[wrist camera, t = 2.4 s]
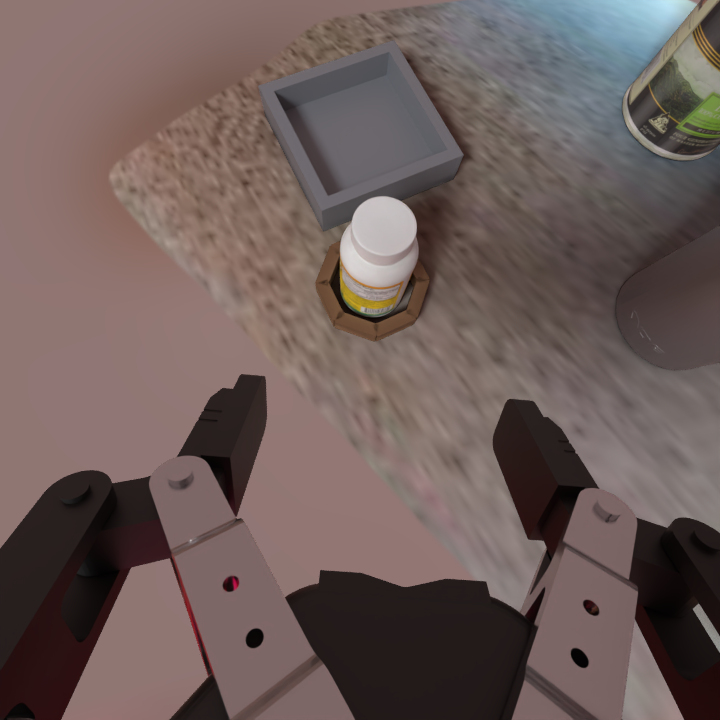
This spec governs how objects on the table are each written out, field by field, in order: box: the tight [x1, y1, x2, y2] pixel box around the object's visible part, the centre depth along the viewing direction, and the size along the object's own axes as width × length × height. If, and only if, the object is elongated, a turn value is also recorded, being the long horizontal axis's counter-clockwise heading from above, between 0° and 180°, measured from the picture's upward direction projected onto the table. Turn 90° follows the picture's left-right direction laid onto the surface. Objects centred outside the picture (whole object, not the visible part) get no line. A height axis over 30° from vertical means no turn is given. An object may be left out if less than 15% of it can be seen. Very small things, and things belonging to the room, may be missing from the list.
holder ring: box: [315, 241, 430, 341], centre depth 32 cm, size 9×9×2 cm
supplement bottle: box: [340, 196, 419, 318], centre depth 28 cm, size 5×5×10 cm
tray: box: [258, 40, 464, 231], centre depth 34 cm, size 13×13×3 cm
